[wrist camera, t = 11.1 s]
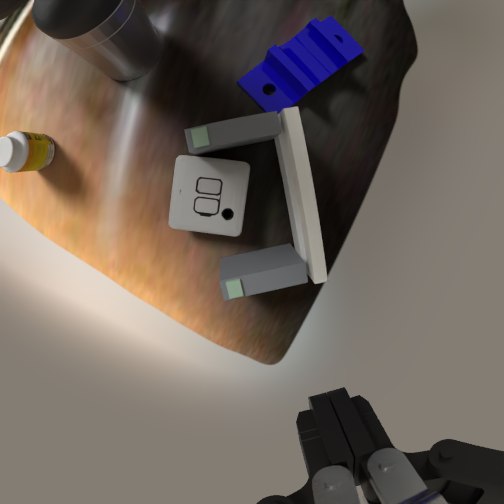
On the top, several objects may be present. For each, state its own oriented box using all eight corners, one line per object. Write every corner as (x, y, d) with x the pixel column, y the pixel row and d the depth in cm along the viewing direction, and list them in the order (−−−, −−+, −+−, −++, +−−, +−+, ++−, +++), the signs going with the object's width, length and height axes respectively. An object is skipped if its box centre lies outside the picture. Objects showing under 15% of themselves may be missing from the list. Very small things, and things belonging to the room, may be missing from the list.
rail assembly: (193, 137, 39) (182, 128, 29) (281, 120, 39) (297, 106, 29) (224, 274, 44) (224, 304, 35) (306, 256, 44) (327, 281, 35)
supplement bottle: (60, 137, 37) (21, 133, 27) (51, 173, 38) (11, 177, 28) (34, 131, 36) (-6, 127, 26) (25, 166, 37) (-15, 169, 27)
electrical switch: (242, 238, 39) (167, 230, 36) (235, 231, 43) (169, 224, 41) (253, 162, 37) (176, 152, 34) (245, 164, 42) (177, 156, 39)
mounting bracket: (272, 122, 40) (279, 114, 34) (236, 85, 38) (238, 72, 32) (359, 54, 37) (376, 41, 31) (327, 20, 36) (339, 3, 30)
